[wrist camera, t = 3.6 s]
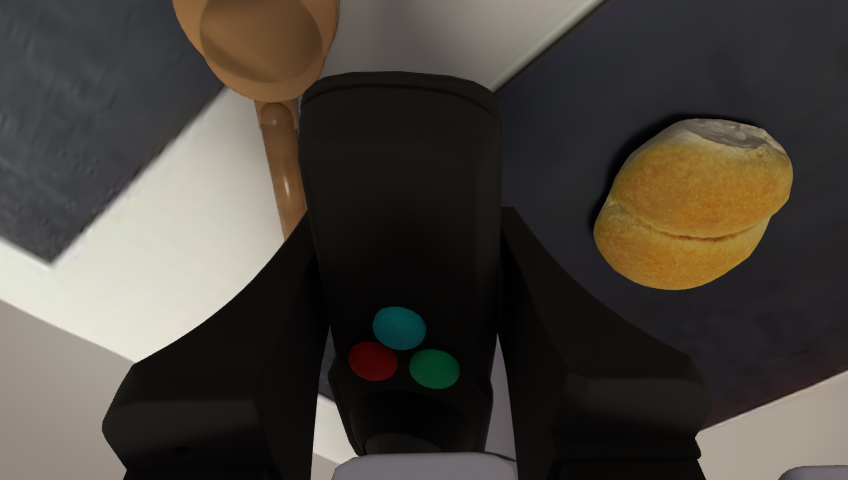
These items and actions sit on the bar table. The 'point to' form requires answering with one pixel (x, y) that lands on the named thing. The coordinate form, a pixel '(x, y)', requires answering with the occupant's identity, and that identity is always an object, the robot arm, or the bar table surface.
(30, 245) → the bar table surface
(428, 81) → the controller
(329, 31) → the spoon
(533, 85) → the bar table surface
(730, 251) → the bread roll
